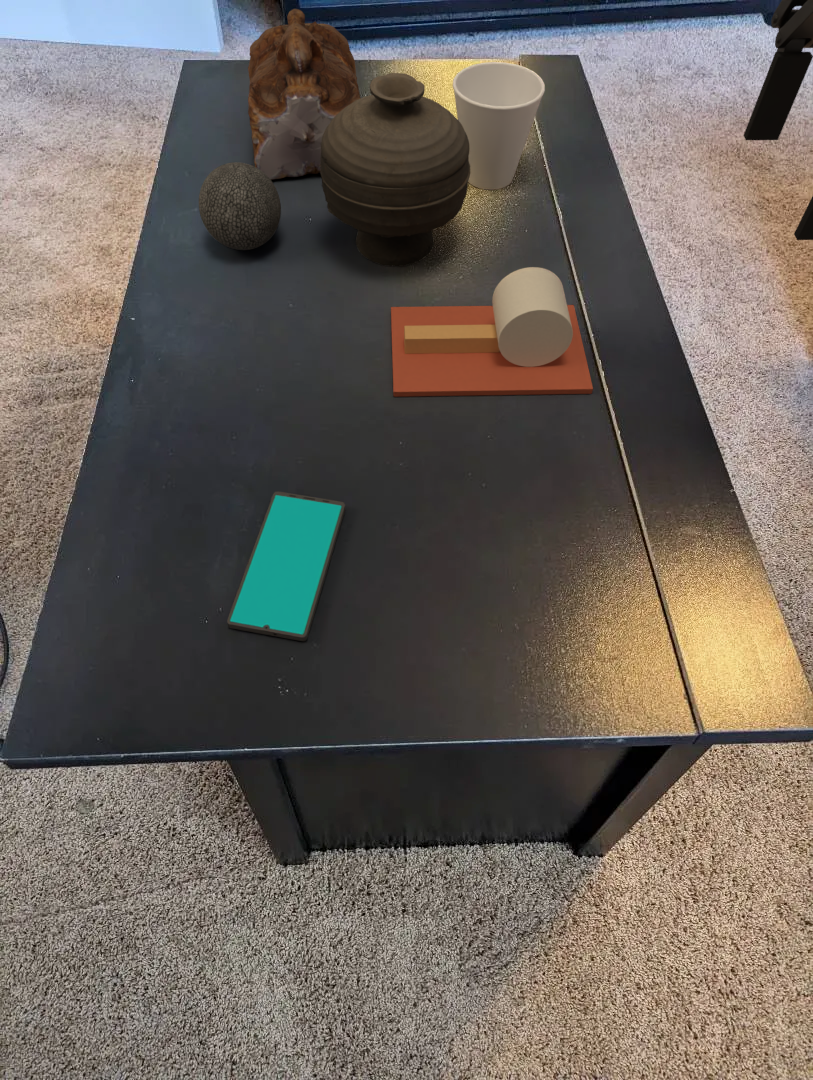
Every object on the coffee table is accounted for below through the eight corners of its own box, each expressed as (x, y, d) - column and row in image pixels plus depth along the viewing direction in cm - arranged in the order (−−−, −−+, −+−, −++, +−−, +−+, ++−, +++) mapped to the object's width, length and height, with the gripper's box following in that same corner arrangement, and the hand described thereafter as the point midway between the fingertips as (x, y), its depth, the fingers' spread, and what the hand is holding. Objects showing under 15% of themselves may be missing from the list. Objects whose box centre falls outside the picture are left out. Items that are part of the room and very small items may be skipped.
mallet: (405, 368, 85) (406, 311, 78) (403, 326, 89) (404, 268, 82) (565, 366, 85) (579, 309, 79) (556, 324, 89) (569, 266, 83)
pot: (494, 223, 100) (502, 65, 83) (421, 307, 93) (412, 154, 76) (383, 182, 106) (368, 26, 89) (305, 258, 99) (273, 105, 82)
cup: (429, 176, 107) (433, 84, 97) (482, 143, 112) (491, 52, 102) (495, 211, 103) (506, 118, 93) (547, 174, 108) (563, 82, 97)
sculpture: (219, 166, 102) (222, 90, 113) (336, 227, 112) (328, 152, 123) (284, 34, 90) (280, -36, 101) (409, 116, 100) (393, 44, 111)
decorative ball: (298, 229, 100) (289, 155, 92) (263, 274, 95) (250, 200, 87) (231, 212, 102) (216, 138, 94) (193, 255, 97) (174, 181, 89)
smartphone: (345, 502, 74) (305, 637, 66) (346, 507, 75) (306, 642, 67) (273, 490, 75) (224, 623, 67) (274, 495, 76) (226, 627, 68)
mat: (572, 309, 92) (573, 304, 91) (591, 394, 84) (593, 388, 84) (390, 312, 91) (390, 306, 91) (393, 397, 84) (393, 391, 83)
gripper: (1137, -89, 36) (892, 285, 53) (922, -233, 50) (783, 102, 67) (981, -90, 36) (787, 286, 53) (809, -234, 49) (700, 103, 67)
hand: (785, 184), depth 60 cm, fingers open, 13 cm apart
